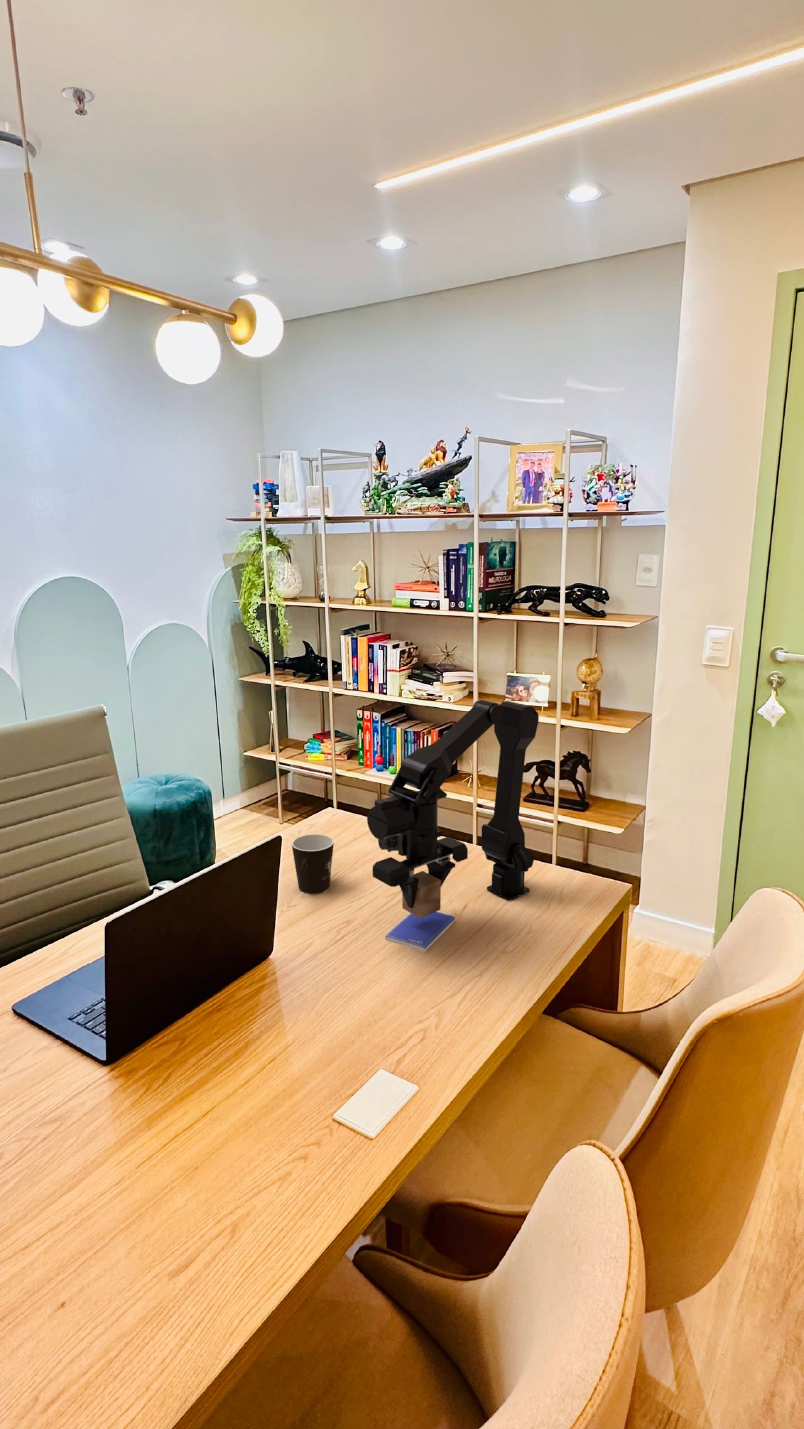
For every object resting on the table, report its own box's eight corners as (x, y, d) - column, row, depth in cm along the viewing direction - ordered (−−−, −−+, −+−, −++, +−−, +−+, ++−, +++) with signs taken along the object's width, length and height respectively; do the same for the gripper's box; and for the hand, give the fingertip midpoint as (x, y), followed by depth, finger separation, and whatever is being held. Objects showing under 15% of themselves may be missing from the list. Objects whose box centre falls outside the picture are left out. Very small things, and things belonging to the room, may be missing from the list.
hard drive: (424, 946, 137) (455, 916, 148) (385, 934, 141) (417, 906, 152) (424, 954, 138) (454, 923, 148) (385, 942, 142) (417, 913, 152)
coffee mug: (312, 873, 168) (311, 830, 165) (343, 884, 163) (342, 840, 160) (274, 894, 158) (272, 849, 156) (305, 906, 154) (303, 859, 151)
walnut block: (422, 899, 147) (422, 870, 146) (440, 909, 144) (440, 880, 142) (402, 908, 144) (402, 878, 143) (420, 918, 140) (420, 888, 139)
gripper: (430, 800, 152) (429, 873, 155) (353, 824, 140) (354, 902, 144) (470, 816, 143) (468, 893, 147) (392, 843, 132) (392, 926, 136)
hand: (421, 902), depth 144 cm, fingers closed on walnut block, 5 cm apart
